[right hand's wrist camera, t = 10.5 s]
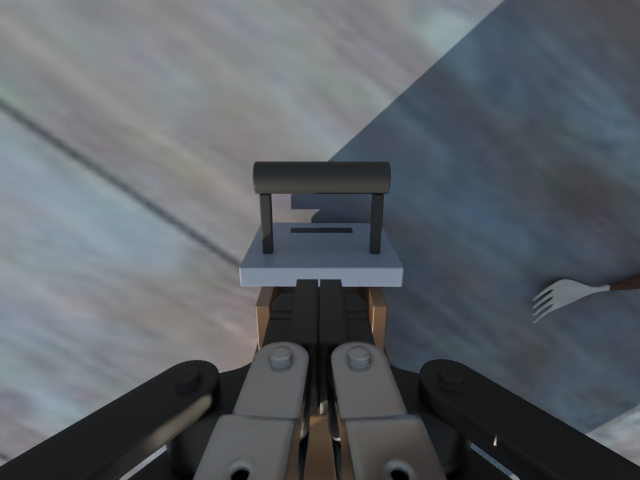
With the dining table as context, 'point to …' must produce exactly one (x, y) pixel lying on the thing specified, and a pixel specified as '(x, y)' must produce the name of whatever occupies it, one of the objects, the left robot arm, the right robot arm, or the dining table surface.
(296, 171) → the drawer
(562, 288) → the fork
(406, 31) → the dining table surface
